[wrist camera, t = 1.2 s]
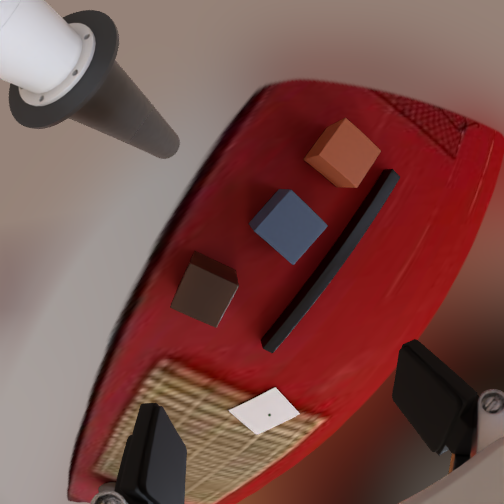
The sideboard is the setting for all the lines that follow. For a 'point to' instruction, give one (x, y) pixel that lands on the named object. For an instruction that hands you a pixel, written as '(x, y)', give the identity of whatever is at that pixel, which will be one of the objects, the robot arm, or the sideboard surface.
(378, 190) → the rail
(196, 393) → the sideboard surface
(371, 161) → the terracotta block
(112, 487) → the coffee pot
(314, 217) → the slate blue block
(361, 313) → the sideboard surface
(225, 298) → the walnut block
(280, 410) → the coaster
